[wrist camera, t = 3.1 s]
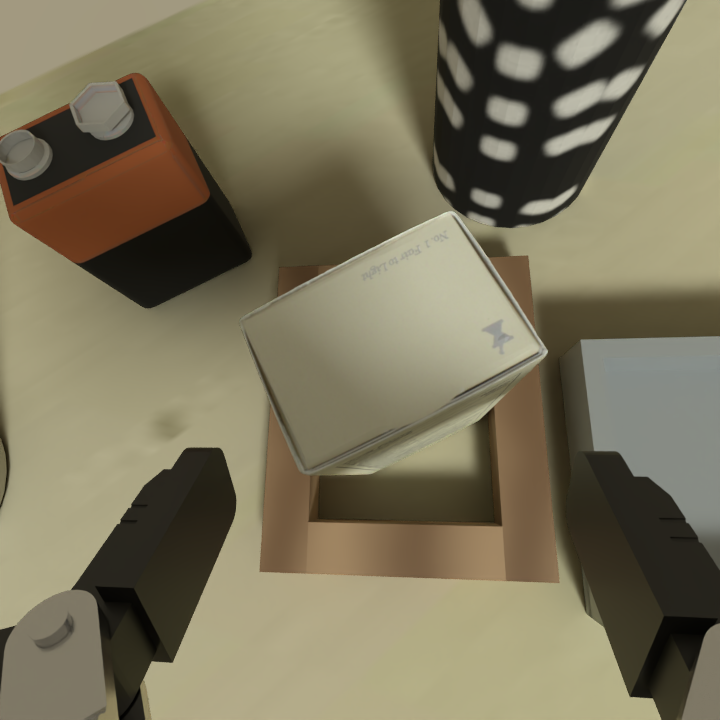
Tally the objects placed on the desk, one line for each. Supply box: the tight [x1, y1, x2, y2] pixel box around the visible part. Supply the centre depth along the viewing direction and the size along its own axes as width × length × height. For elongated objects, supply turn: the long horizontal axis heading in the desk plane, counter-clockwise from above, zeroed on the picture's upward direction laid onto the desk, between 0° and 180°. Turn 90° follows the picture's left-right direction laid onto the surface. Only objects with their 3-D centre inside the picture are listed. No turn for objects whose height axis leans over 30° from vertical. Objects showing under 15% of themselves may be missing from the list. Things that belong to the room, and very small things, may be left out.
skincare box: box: [239, 211, 548, 476], centre depth 16 cm, size 6×4×12 cm
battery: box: [0, 73, 252, 308], centre depth 21 cm, size 4×7×10 cm, turn 116°
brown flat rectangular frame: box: [260, 256, 559, 583], centre depth 21 cm, size 12×14×2 cm
